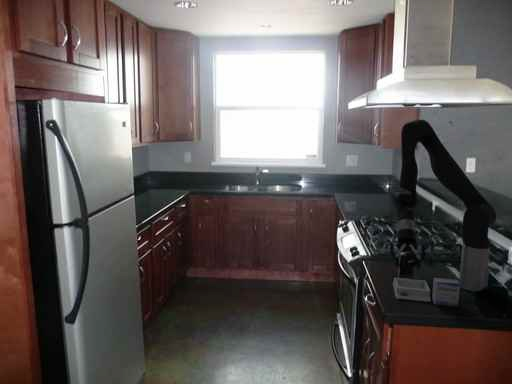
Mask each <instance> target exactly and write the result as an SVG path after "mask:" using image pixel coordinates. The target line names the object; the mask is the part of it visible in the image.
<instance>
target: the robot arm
mask: <svg viewBox="0 0 512 384" xmlns="http://www.w3.org/2000/svg"><path fill="white" fill-rule="evenodd" d="M400 135H401V136H400V137H401V138H400V139H401V142H400V143H401V169H400V175H399V187H400V188H401V189H403V190H407V191H409V192H405V191H404V192H403V191H398V192H395V193H394V194H393V196H392V203H393V206H394V209H395V212H396V214H397V215H396V216H397V217H396V218H397V227H396V237H397V238H396V241H397V242H396V243H393V242H389V258H390V259H393V260H394V266H395V267H396V268H397V269H398V267H399V255H400V253H402V252H413V253H415V254H416V255H417V264H416V266H415V267H416V268H415V269H416V270H418V271H419V269H421V261H423V262H424V260H425V258H426V246H425V245H424V244H422V245H418V243H417V228H416V227H417V226H416V223H415V221H416V220H415V213H414V211H413V210H412V209H415V208H416V207H417V206H418V204H419V200H418V192H417V181H418V177H419V167H418V162H417V160H416V155H415V154H416V153H415V151H416V147H417V144H419V143H420V144H421V145H422V146H423V148H424V149H425V150H426V152H427V154H428V157H429V163H430V168H431V171H432V172H433V175H434V176H435V177H436V179H437V180H438V181H439V182H440V184H441V185H442V186H443V187H444V188H445V189H447V190H448V191H449V192H451V193H452V194H453V195H454V196H456V197H457V198H458V199H459V200H460V201H461V202H462V203H463V205H464V206H465V208H466V209H465V210H464V213H463V215H462V216H463V217H462V225H461V226H462V229H461V236H462V249H461V258H460V268H459V275H458V276H459V278H458V282H459V284H460V289H463V290H466V291H469V292H475V293H478V292H477V291H480V290H481V289H483V288H485V287H487V288H488V282H489V274H490V267H489V257H490V251H491V239H490V238H489V227H490V226H492V225H493V224H495V223H496V221H497V211H496V210H495V208H494V207H493V206H492V204H490V202H489V201H488V200H487V199H486V198H485V197H484V196H483V195H482V194H481V193H480V192H479V191H478V189H477V188H476V187H475V185H474V183H473V182H471V179H469V178H468V176H467V175H466V174H465V172H464V170H463V169H462V168H461V166H459V164H458V162H457V161H456V160H455V159H454V158H453V157H452V155H451V154H450V153H449V151H448V150H447V148H446V147H445V145H444V144H443V143H442V142H441V140H440V138H439V137H438V135H437V133H436V132H435V130H434V128H433V127H432V125H431V124H430V123H429V122H428V121H426V120H425V119H416V120H411V121H408V122H406V123H404V124H403V125H402V128H401V133H400ZM395 249H397V250H398V251H397V252H396V254H395V252H394V250H395ZM417 250H419V252H420V255H419V253H418V251H417Z"/></svg>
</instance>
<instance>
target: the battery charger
mask: <svg viewBox="0 0 512 384" xmlns="http://www.w3.org/2000/svg"><path fill="white" fill-rule="evenodd" d="M416 264H417V255H416V254H415V253H413V252H402V253H400V255H399V267H398V268H397V276H396V278H403V279H414V278H415V275H414V269H415V267H416ZM414 280H415V279H414Z"/></svg>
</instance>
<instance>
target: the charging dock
mask: <svg viewBox="0 0 512 384" xmlns="http://www.w3.org/2000/svg"><path fill="white" fill-rule="evenodd" d="M392 286H393V289H394V294H395V298H396V299H397V300H398V299H399V300H400V299H401V300H410V301H419V302H431V300H432V298H431V297H430V296H431V289H430V287H429V284H428V283H427V280H424V279H403V278H397V277H394V278H393V282H392Z"/></svg>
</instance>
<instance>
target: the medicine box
mask: <svg viewBox="0 0 512 384" xmlns="http://www.w3.org/2000/svg"><path fill="white" fill-rule="evenodd" d="M432 283H433V284H432V295H431V300H432V302H433V304H434V305H435V306H444V307H445V306H447V307H458V306H459V298H460V289H461V287H460V284H459V280H458V279H453V278H439V277H433V282H432Z"/></svg>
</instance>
